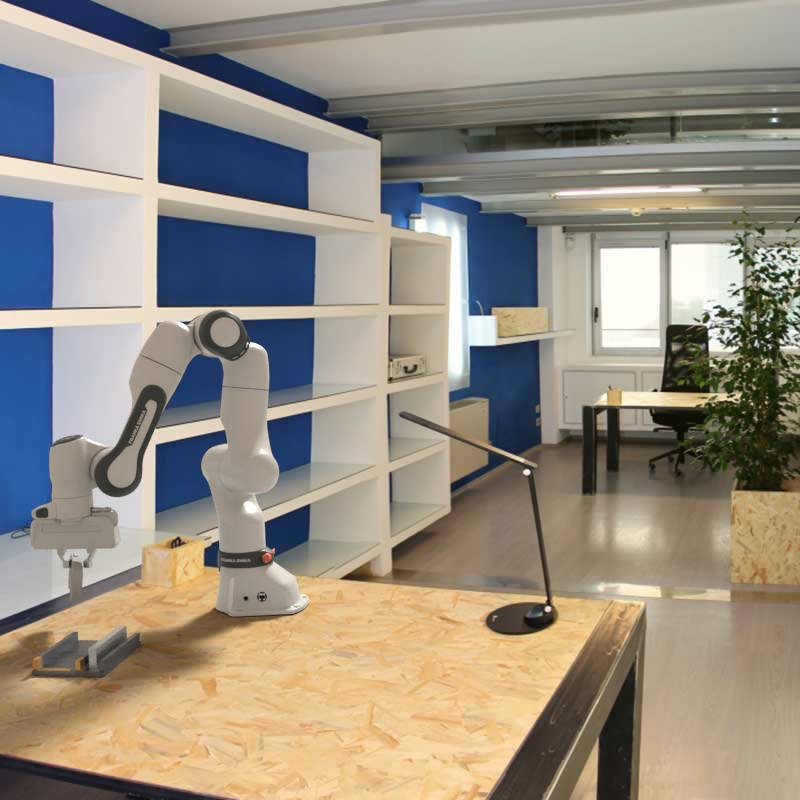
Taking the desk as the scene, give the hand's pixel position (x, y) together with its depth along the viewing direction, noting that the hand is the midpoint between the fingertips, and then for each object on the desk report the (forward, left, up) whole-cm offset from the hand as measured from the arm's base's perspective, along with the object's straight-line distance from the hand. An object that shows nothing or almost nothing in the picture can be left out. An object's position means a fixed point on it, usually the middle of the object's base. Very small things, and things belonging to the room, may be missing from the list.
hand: (78, 567), depth 232 cm
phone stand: (-11, +20, -14) cm, 27 cm away
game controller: (+1, +1, -6) cm, 6 cm away
